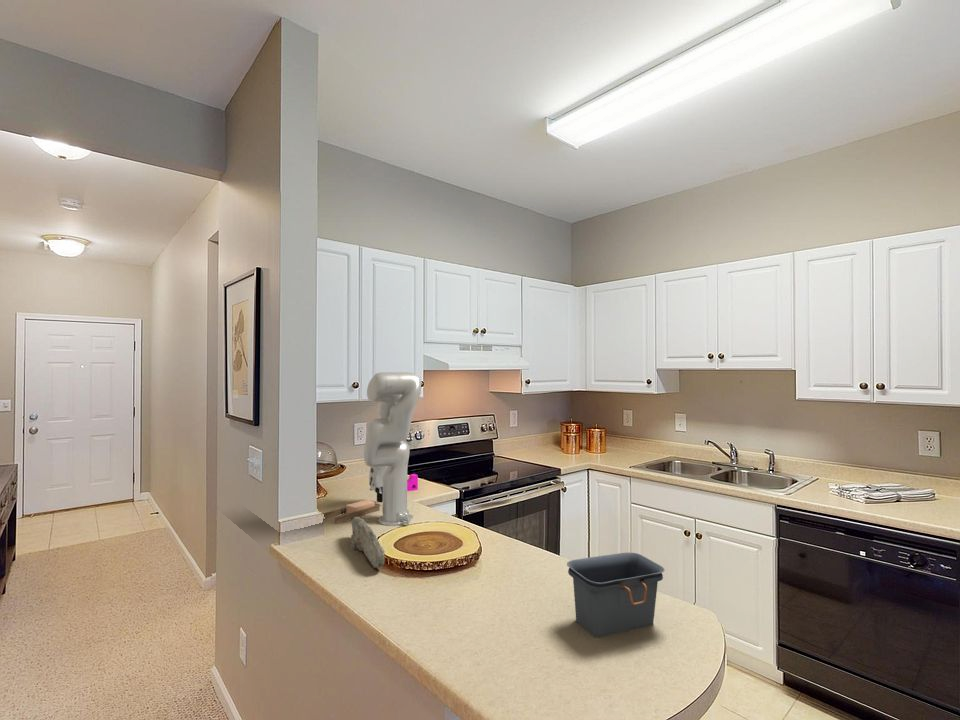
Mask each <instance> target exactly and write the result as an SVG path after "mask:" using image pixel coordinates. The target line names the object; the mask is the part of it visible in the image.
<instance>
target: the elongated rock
mask: <svg viewBox="0 0 960 720" xmlns="http://www.w3.org/2000/svg"><path fill="white" fill-rule="evenodd" d="M351 520H352V521H351V526H352V527H351V528H352V529H351V530H352V534H351V535H350V541H351V545H350V547H351V549H352V550H358V551H360V552H363V553H364V556H365V557H366V558H367V560H368V561H369V563H370V564H371V565H372V567H373V569H375V568H377V569H382V567H383V566H384V565H385V549H384V548H383V546H382V545H381V544H380V541H379V539H378V537H377V535H376V533H374V531H373V528H371V526H369V524H368V523H367V522H366V521H365V519H364V518H361V516H360V517H354V518H353V519H351Z"/></svg>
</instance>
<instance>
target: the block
mask: <svg viewBox="0 0 960 720" xmlns="http://www.w3.org/2000/svg"><path fill="white" fill-rule="evenodd" d="M372 506H376V502H375V501H372V500H368V499H364V500H359V501H357V502H352V503H350V504H346V505H345V507H346V513H345V514H347V513H348V514H349V513H352V512H356V511H359V510H362V509H366V508H369V507H372Z"/></svg>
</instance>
